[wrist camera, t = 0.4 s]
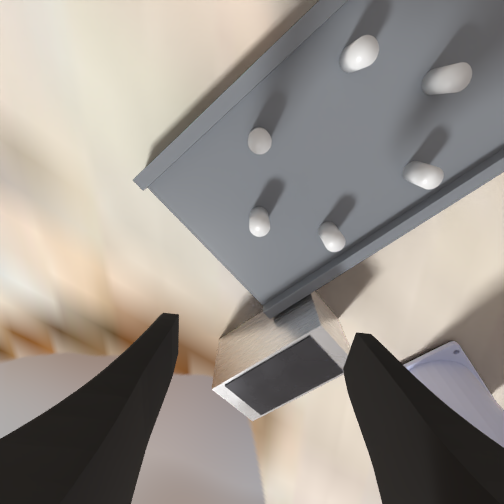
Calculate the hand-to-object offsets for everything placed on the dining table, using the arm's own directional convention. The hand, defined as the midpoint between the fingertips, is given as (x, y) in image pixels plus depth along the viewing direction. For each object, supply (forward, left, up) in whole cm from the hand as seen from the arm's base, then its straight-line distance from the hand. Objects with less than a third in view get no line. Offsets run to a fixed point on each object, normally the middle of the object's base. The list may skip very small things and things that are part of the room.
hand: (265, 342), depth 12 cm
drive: (-7, +4, -10) cm, 13 cm away
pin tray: (+2, -7, -10) cm, 12 cm away
